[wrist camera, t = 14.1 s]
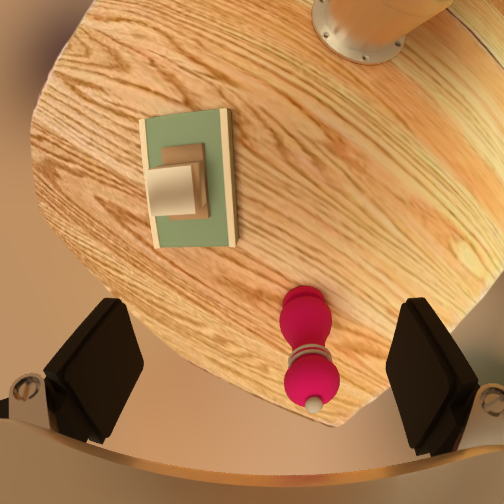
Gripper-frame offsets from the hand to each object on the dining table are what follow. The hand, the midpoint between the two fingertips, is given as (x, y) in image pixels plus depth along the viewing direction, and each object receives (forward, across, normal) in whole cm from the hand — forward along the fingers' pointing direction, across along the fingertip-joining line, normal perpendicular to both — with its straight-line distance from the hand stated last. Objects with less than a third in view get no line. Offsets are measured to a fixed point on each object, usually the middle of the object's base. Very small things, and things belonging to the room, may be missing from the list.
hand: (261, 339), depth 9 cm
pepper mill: (+31, -4, +18) cm, 36 cm away
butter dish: (+27, +10, -1) cm, 29 cm away
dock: (+30, +10, -1) cm, 32 cm away
